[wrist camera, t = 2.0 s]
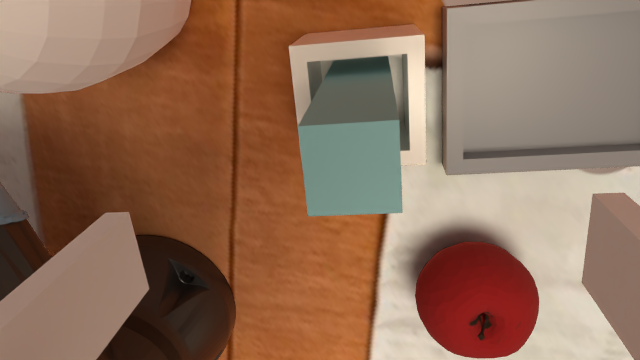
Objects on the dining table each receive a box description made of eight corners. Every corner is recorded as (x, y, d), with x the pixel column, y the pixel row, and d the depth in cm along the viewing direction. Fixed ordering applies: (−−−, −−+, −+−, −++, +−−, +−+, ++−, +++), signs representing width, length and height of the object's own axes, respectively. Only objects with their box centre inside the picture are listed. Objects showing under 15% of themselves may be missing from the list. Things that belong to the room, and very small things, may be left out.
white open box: (316, 135, 39) (302, 170, 32) (306, 33, 36) (288, 46, 29) (416, 129, 38) (426, 164, 31) (414, 24, 35) (424, 34, 28)
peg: (338, 113, 37) (308, 216, 21) (333, 60, 36) (297, 126, 19) (390, 109, 37) (402, 212, 20) (388, 56, 35) (399, 119, 19)
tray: (442, 163, 39) (446, 175, 37) (442, 6, 35) (446, 8, 32) (656, 153, 37) (675, 164, 35) (685, -16, 32) (709, -16, 30)
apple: (419, 316, 45) (430, 402, 36) (405, 230, 42) (414, 301, 32) (523, 306, 43) (563, 393, 34) (517, 216, 40) (560, 286, 31)
